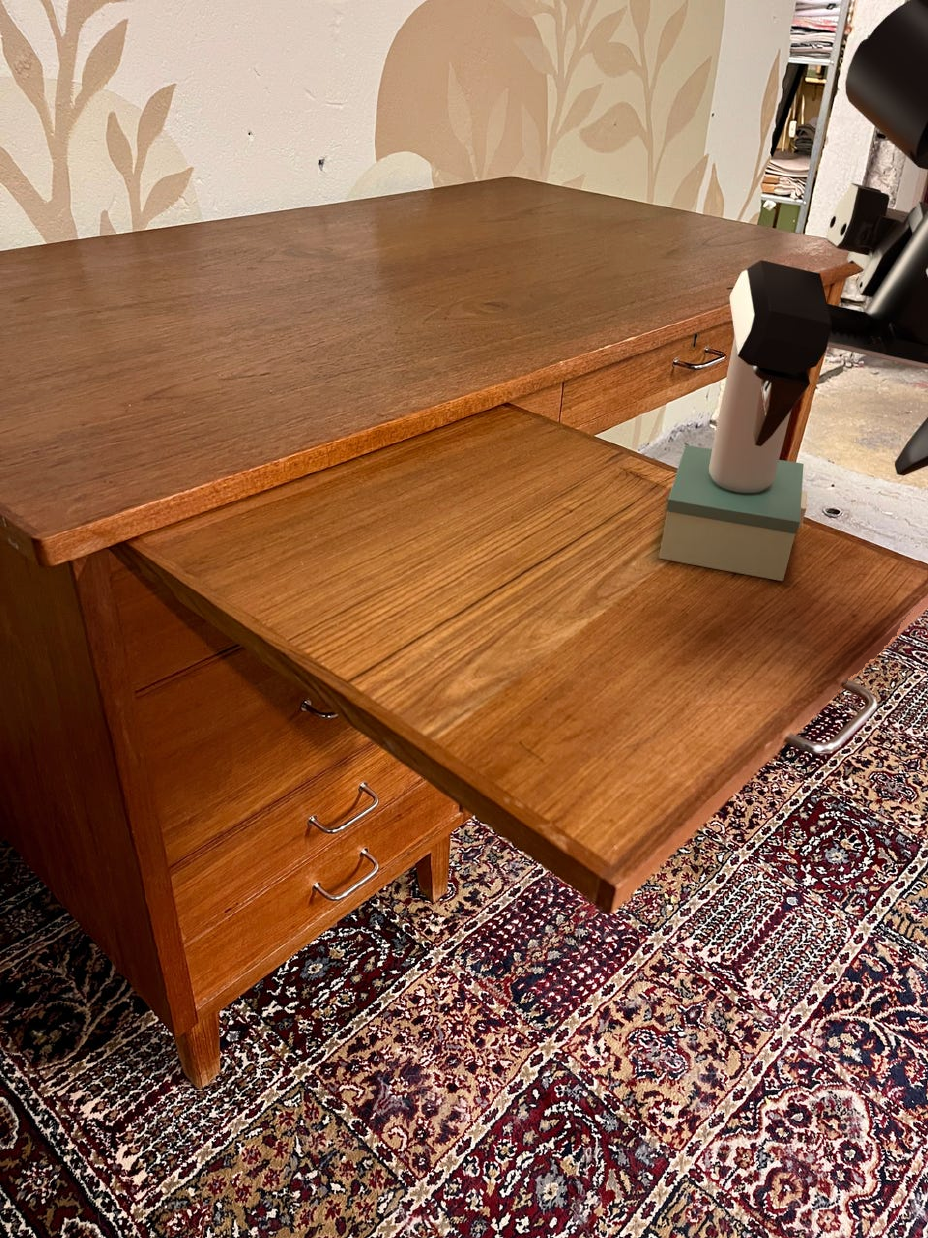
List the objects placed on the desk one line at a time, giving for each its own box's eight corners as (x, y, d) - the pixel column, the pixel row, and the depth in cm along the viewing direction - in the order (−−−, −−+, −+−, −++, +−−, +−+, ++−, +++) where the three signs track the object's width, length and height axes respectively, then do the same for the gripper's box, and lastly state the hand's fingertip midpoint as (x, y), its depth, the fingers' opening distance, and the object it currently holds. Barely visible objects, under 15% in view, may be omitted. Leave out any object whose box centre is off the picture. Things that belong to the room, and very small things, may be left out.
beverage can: (747, 502, 69) (784, 336, 62) (693, 478, 72) (723, 317, 65) (785, 484, 72) (825, 323, 65) (732, 461, 75) (765, 306, 68)
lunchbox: (795, 520, 78) (810, 464, 75) (791, 583, 70) (807, 523, 67) (675, 500, 80) (685, 444, 77) (657, 558, 72) (667, 499, 69)
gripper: (1111, 179, 52) (940, 397, 64) (785, 98, 50) (674, 339, 62) (1187, 306, 45) (981, 521, 58) (815, 219, 43) (685, 461, 56)
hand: (828, 455), depth 59 cm, fingers open, 9 cm apart
